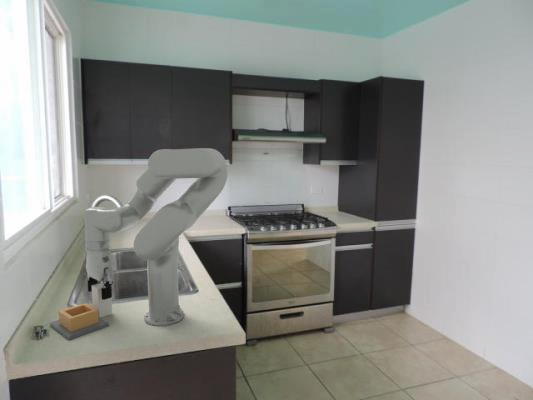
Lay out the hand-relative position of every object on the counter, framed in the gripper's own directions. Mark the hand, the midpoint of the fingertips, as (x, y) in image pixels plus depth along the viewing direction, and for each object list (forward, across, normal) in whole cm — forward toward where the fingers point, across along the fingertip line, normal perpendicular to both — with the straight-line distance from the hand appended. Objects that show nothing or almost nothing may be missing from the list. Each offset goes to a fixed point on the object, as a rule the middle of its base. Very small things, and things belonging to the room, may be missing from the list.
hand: (99, 294), depth 127 cm
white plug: (+7, -1, 0) cm, 7 cm away
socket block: (+7, -4, +8) cm, 11 cm away
